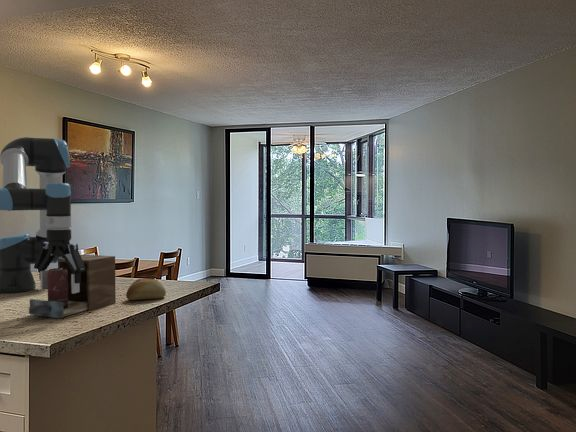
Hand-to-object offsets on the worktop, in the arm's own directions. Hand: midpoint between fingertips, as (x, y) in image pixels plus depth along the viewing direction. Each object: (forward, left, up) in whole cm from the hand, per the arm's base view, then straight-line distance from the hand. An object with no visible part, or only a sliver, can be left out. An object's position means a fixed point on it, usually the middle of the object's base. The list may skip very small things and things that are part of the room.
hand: (59, 291), depth 161 cm
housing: (0, +12, -7) cm, 14 cm away
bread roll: (+13, +29, -8) cm, 33 cm away
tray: (0, -2, -7) cm, 7 cm away
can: (0, -1, -6) cm, 7 cm away
